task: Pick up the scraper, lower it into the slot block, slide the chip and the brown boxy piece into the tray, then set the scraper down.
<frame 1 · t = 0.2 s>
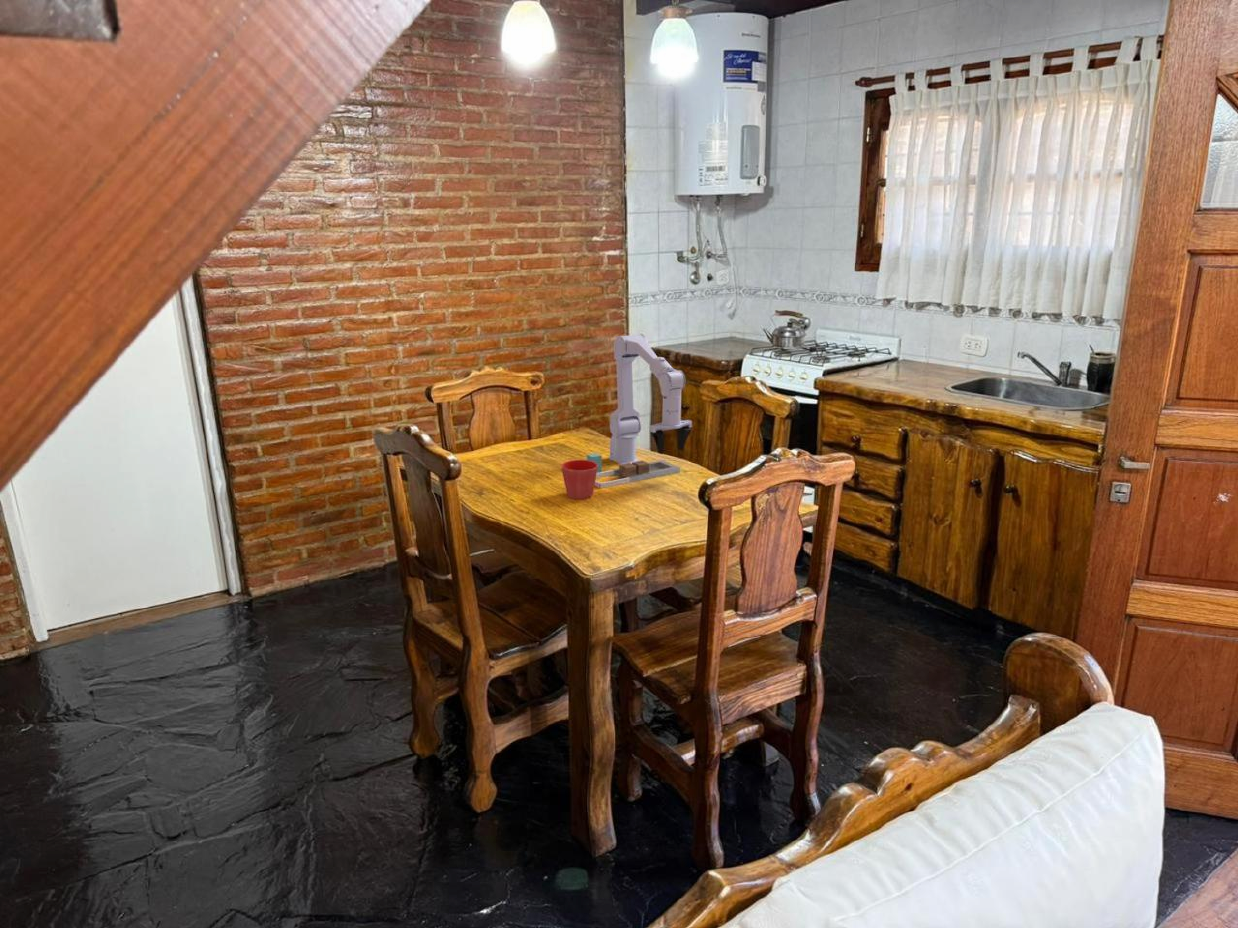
hand: (670, 451, 264), 10 cm above the table, tool pointing down, fingers open, 7 cm apart
brown boxy piece: (627, 477, 269), resting on slot block
tray: (606, 482, 265), on the table
flower pot: (579, 495, 253), on the table
slot block: (646, 474, 273), on the table
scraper: (594, 474, 274), on the table
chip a: (640, 474, 272), resting on slot block
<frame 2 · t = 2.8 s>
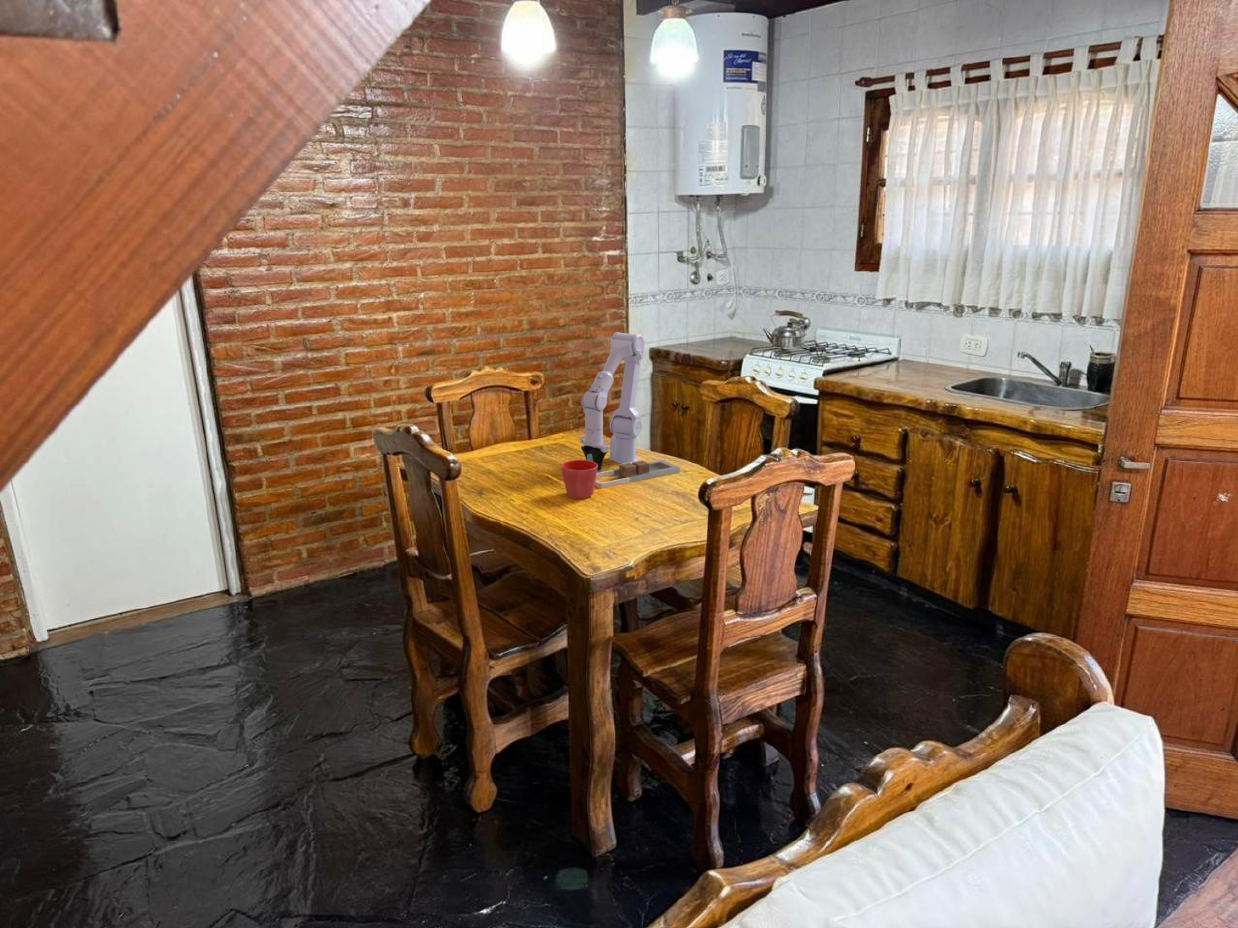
hand: (594, 468, 274), 2 cm above the table, tool pointing down, fingers closed on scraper, 3 cm apart
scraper: (594, 474, 274), on the table, touching gripper
everything else where it was.
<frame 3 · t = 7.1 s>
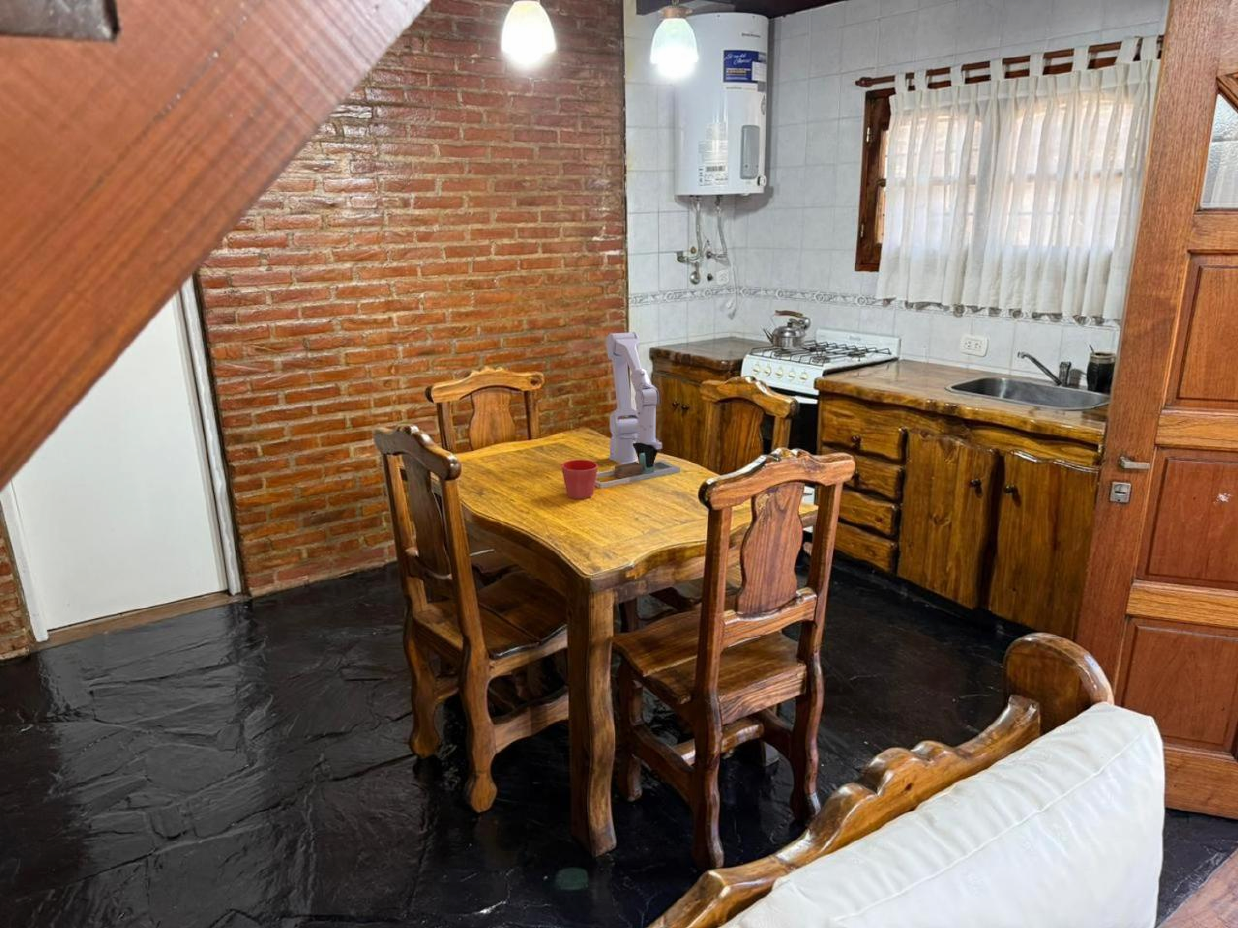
hand: (646, 465, 272), 3 cm above the table, tool pointing down, fingers closed on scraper, 3 cm apart
brown boxy piece: (623, 478, 268), point 1 cm above the table, touching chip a
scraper: (646, 473, 273), point 1 cm above the table, touching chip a, gripper
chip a: (633, 475, 271), point 1 cm above the table, touching brown boxy piece, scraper
everything else where it was.
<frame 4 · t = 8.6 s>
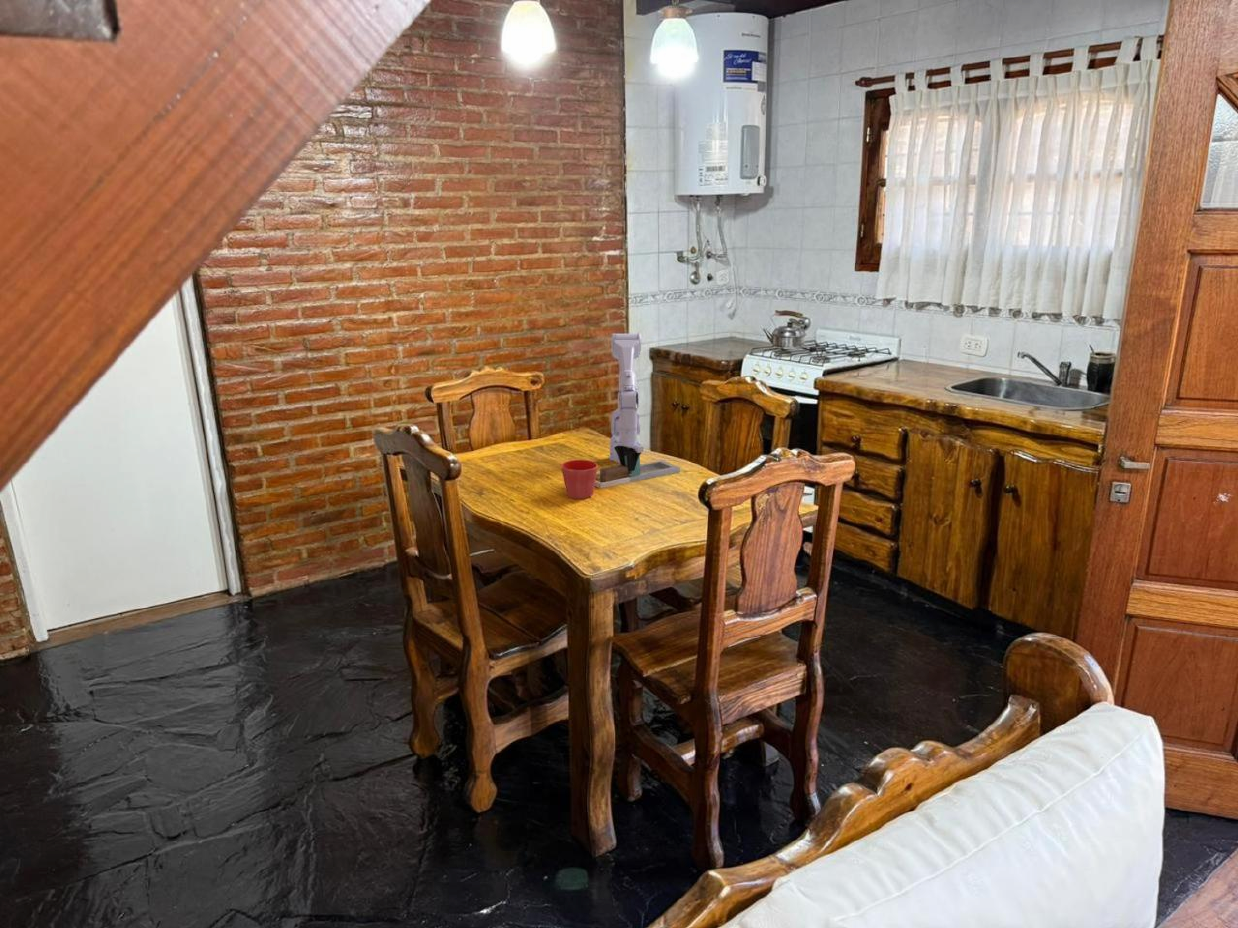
hand: (627, 469, 269), 3 cm above the table, tool pointing down, fingers closed on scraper, 3 cm apart
brown boxy piece: (608, 481, 266), resting on tray, touching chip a
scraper: (633, 475, 270), point 1 cm above the table, touching gripper
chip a: (619, 478, 268), resting on slot block, touching brown boxy piece
everything else where it was.
when the fingers open (3 cm above the table, at t = 12.2 s): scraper stays where it is, on the table.
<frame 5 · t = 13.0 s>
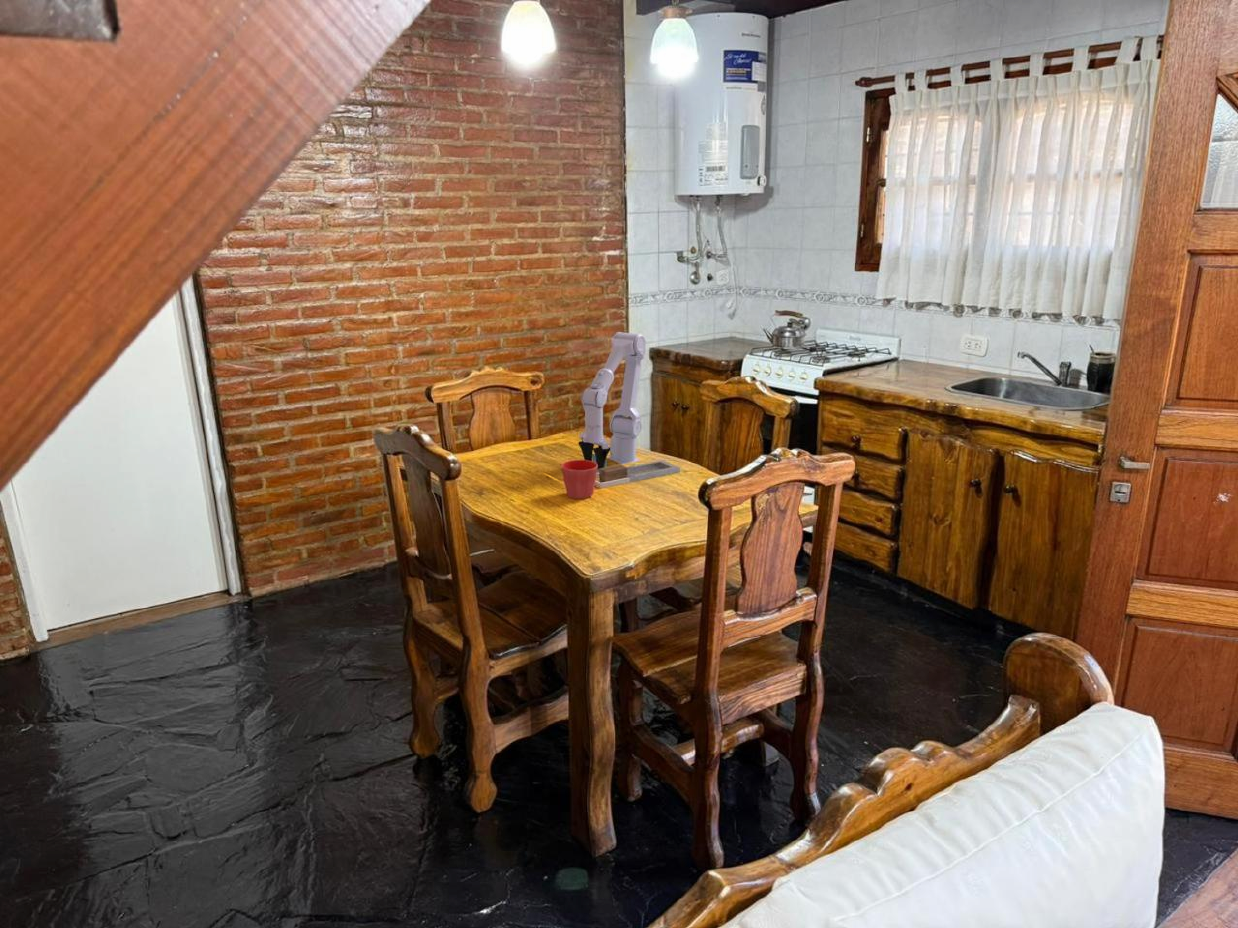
hand: (594, 465, 273), 3 cm above the table, tool pointing down, fingers open, 7 cm apart
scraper: (599, 473, 275), on the table
everything else where it was.
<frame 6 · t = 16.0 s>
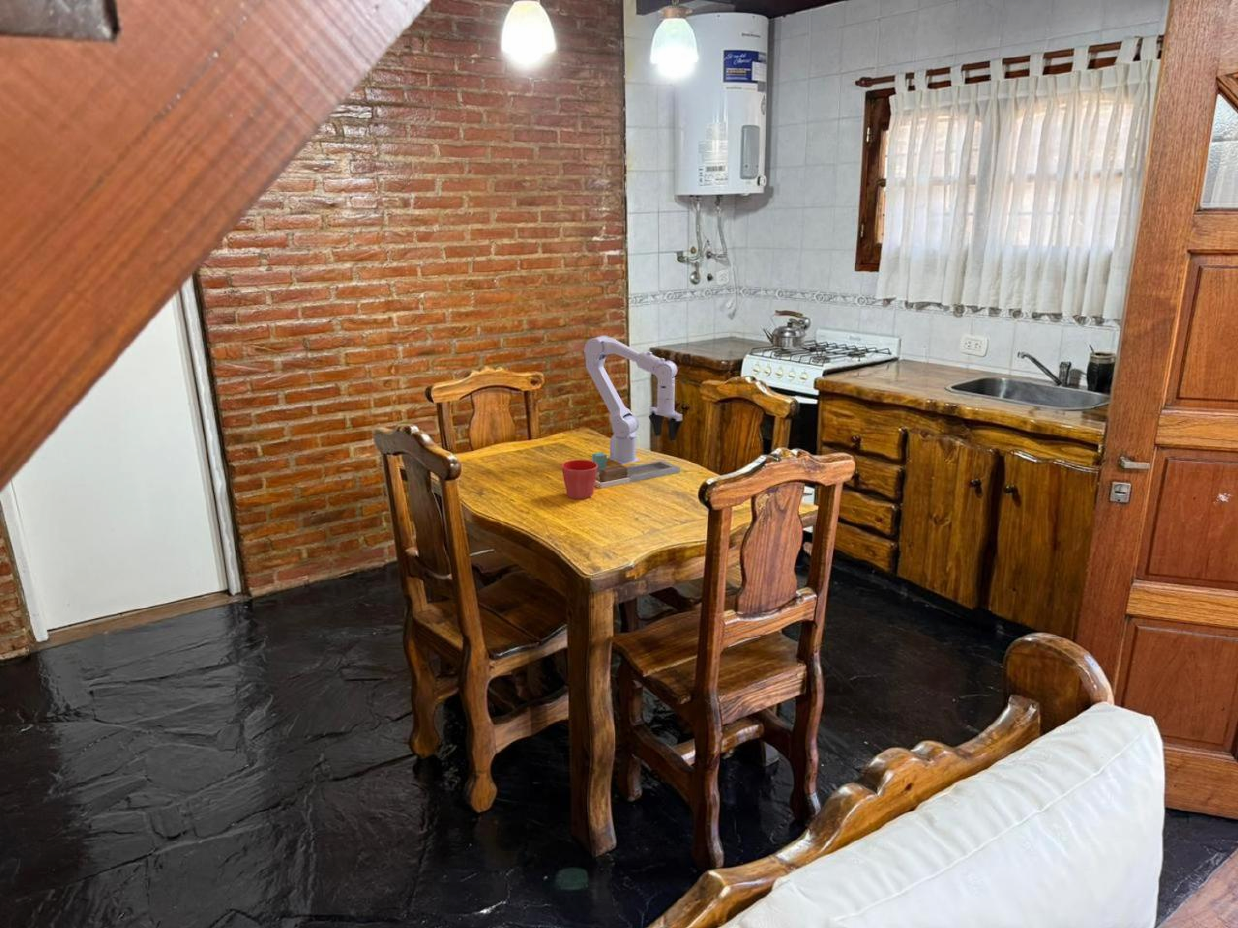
hand: (665, 437, 280), 10 cm above the table, tool pointing down, fingers open, 7 cm apart
nothing on the table moved.
at the end: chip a inside the target area (4.2 cm from its centre), point 0.5 cm above the table; brown boxy piece inside the target area (0.1 cm from its centre), resting on tray; the gripper is holding nothing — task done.
